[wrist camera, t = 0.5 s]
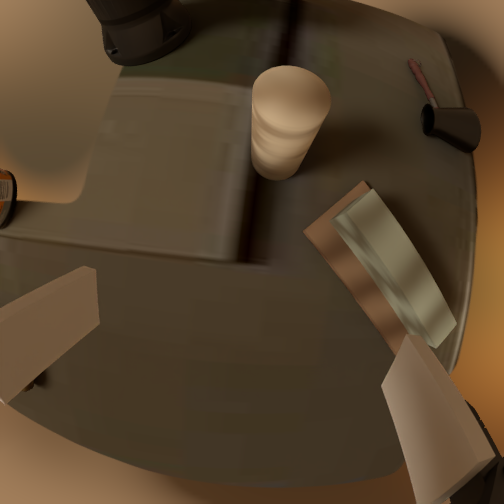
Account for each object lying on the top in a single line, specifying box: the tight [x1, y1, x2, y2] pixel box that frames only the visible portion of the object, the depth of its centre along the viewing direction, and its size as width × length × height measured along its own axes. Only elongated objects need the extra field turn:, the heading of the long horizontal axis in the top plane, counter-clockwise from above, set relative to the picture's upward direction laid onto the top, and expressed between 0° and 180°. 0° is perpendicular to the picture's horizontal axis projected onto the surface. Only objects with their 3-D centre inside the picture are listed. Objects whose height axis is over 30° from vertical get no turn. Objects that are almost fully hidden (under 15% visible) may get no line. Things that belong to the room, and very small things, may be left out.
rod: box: [251, 66, 331, 181], centre depth 25 cm, size 6×6×14 cm
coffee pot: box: [408, 59, 481, 153], centre depth 30 cm, size 8×18×8 cm
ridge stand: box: [303, 181, 457, 355], centre depth 28 cm, size 21×10×7 cm, turn 39°
